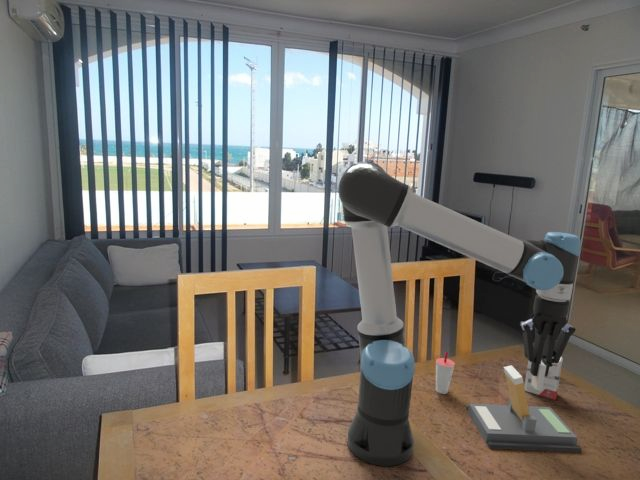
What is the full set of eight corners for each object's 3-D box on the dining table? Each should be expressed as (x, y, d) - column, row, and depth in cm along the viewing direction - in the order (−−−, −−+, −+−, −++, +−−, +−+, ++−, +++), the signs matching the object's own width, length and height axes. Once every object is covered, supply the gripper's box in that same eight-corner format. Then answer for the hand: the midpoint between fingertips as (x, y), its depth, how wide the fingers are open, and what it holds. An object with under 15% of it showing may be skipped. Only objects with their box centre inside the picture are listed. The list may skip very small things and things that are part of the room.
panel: (485, 442, 110) (489, 421, 109) (467, 411, 122) (470, 392, 121) (575, 446, 110) (580, 425, 109) (548, 415, 123) (551, 396, 122)
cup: (438, 384, 136) (443, 346, 134) (454, 391, 133) (460, 353, 130) (428, 389, 133) (433, 351, 130) (445, 397, 129) (450, 358, 127)
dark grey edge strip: (489, 448, 108) (489, 444, 108) (487, 445, 109) (488, 441, 109) (580, 451, 108) (581, 448, 108) (578, 449, 109) (579, 445, 109)
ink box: (557, 393, 135) (563, 356, 133) (555, 400, 131) (562, 362, 129) (525, 384, 140) (531, 348, 138) (523, 390, 136) (529, 353, 133)
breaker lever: (523, 424, 113) (514, 379, 110) (512, 410, 119) (503, 366, 116) (531, 422, 113) (522, 377, 110) (520, 408, 119) (511, 364, 116)
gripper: (533, 300, 106) (517, 393, 110) (588, 304, 106) (570, 396, 111) (519, 290, 113) (504, 378, 118) (570, 293, 114) (554, 381, 118)
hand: (536, 387), depth 114 cm, fingers closed
